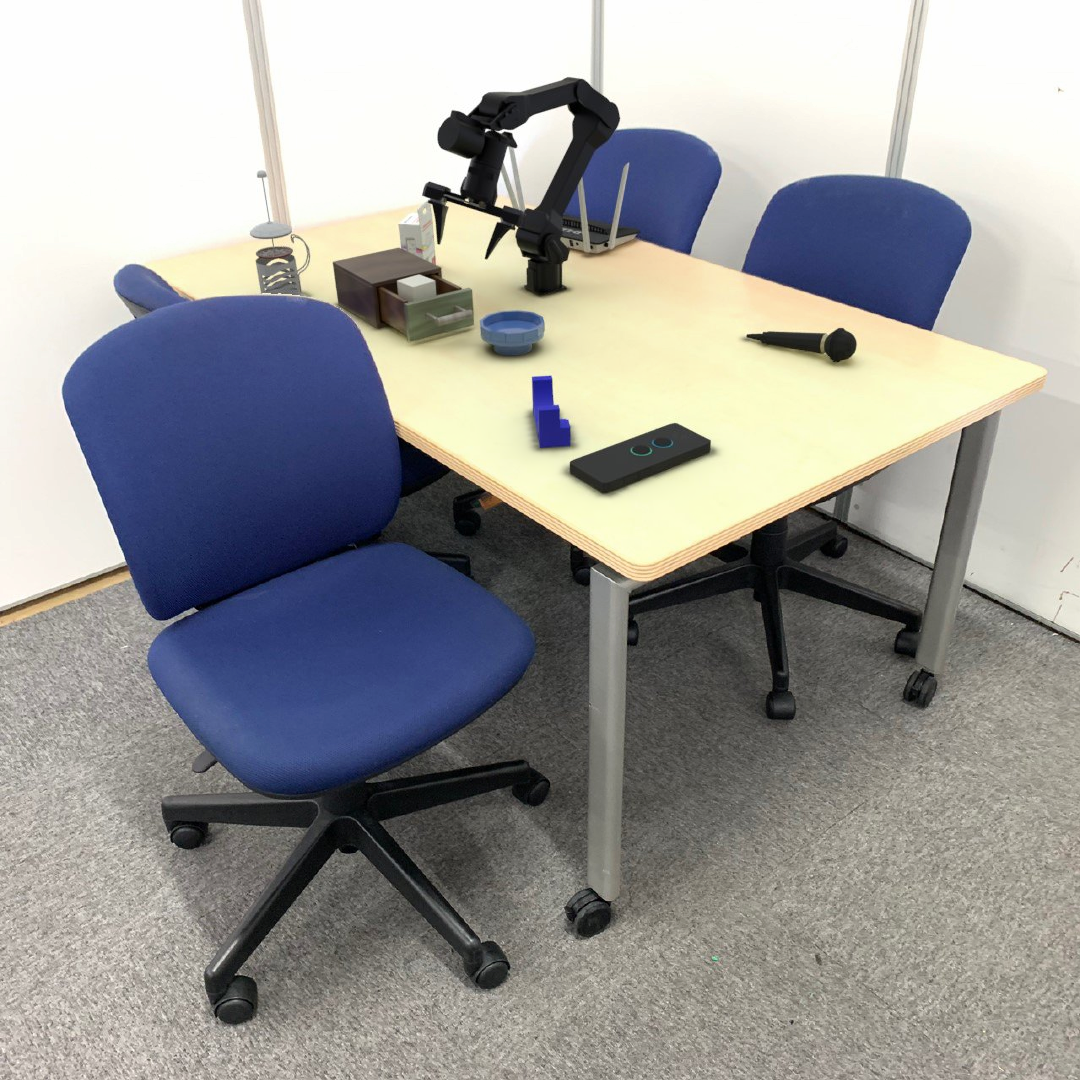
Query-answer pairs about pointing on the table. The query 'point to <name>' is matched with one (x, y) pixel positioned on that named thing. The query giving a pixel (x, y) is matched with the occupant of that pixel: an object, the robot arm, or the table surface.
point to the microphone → (813, 342)
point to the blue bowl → (512, 331)
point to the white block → (416, 288)
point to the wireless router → (581, 218)
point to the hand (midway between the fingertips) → (462, 251)
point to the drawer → (427, 310)
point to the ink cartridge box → (419, 233)
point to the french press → (277, 257)
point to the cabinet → (375, 279)
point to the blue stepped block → (548, 415)
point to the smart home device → (639, 457)
